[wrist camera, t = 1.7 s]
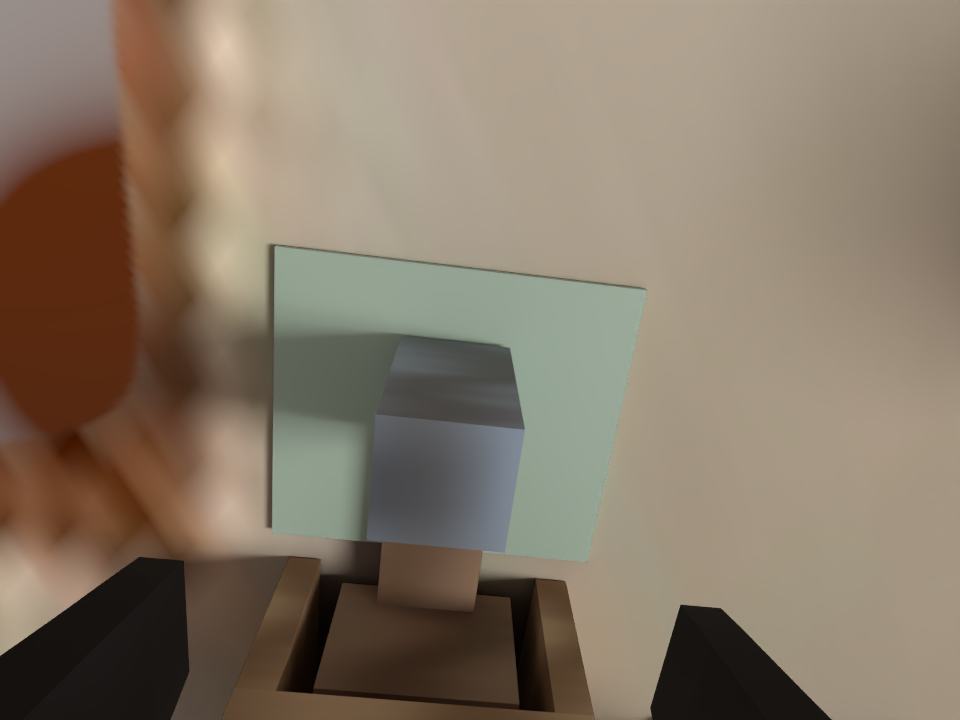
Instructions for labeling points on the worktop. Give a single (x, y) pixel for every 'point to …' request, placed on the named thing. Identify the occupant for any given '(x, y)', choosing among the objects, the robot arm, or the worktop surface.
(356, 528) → the pad
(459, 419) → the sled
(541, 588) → the tunnel
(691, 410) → the worktop surface
